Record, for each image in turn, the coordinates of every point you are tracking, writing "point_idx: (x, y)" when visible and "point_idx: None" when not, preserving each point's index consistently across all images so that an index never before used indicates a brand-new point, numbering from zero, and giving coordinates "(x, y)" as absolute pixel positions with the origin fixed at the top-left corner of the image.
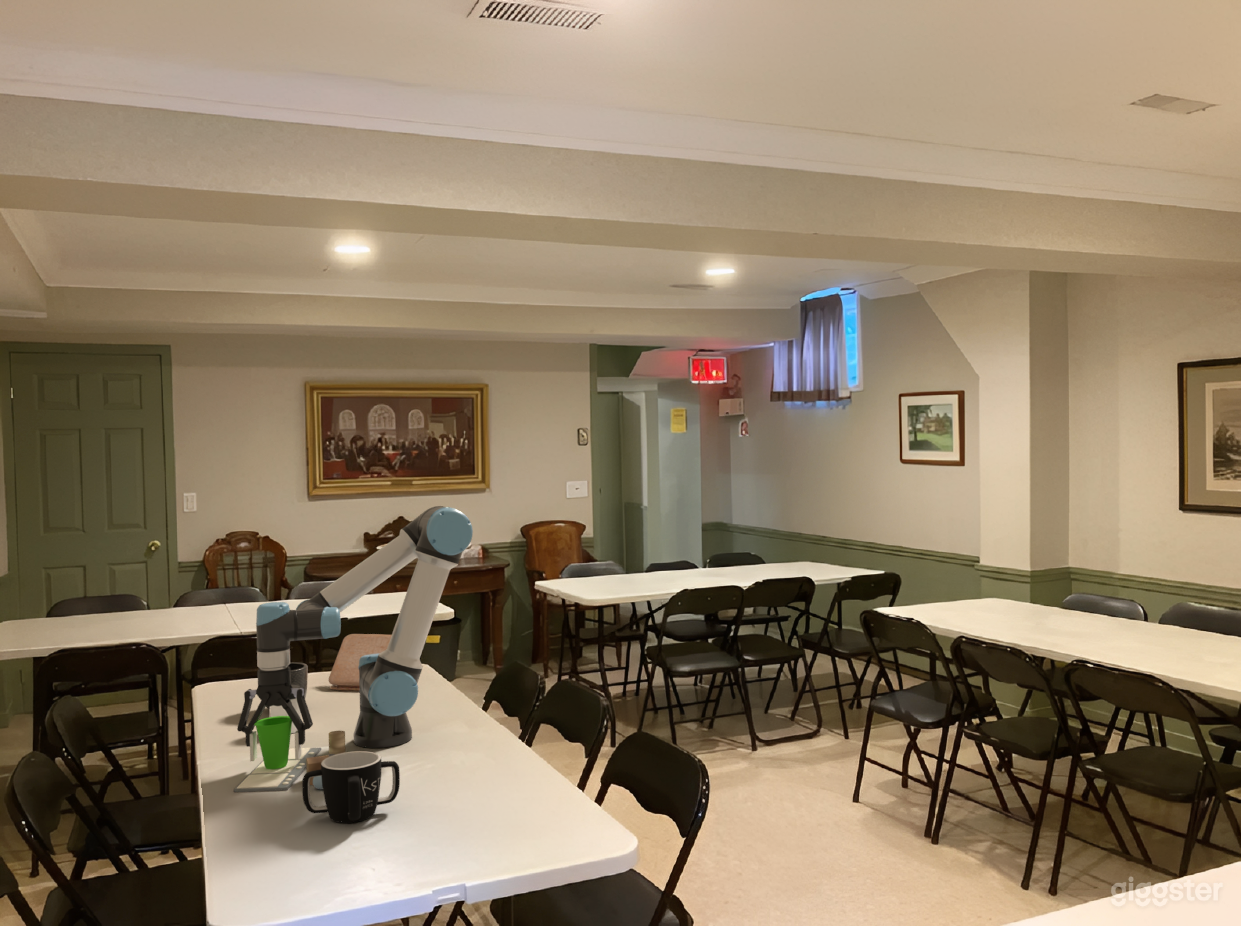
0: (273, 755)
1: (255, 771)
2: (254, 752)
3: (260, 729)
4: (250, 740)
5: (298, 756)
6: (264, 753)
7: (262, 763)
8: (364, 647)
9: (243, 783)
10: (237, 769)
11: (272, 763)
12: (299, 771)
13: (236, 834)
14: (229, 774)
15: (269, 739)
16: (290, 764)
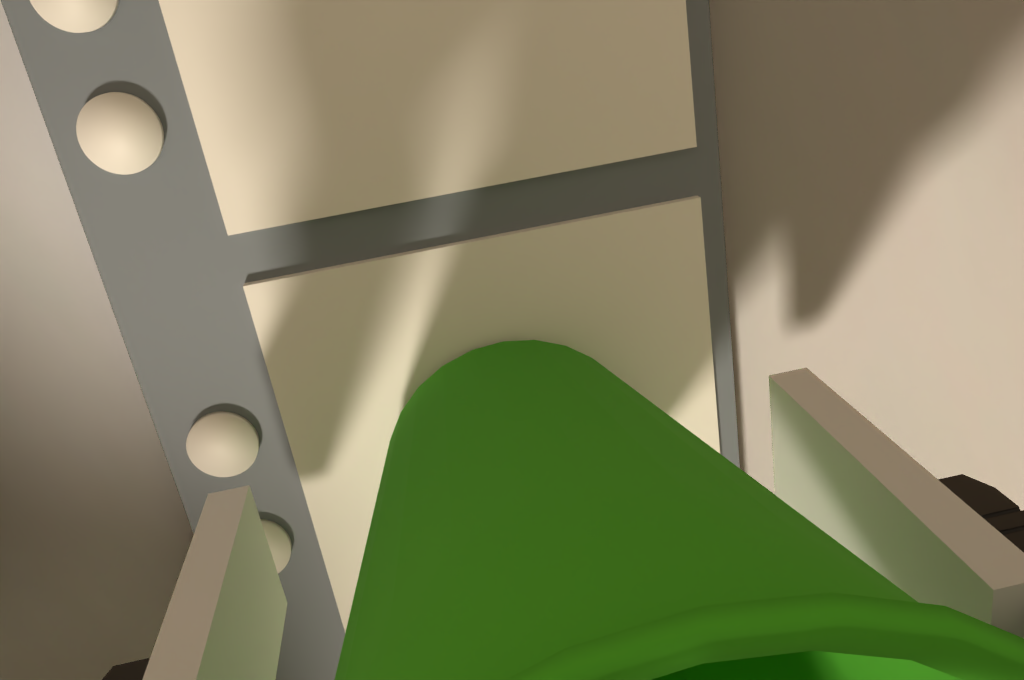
0: (494, 391)
1: (675, 262)
2: (813, 460)
3: (870, 588)
4: (960, 511)
5: (204, 520)
6: (641, 402)
7: None
8: None
9: None
10: (917, 390)
11: (503, 356)
12: (144, 334)
13: None
14: (949, 238)
15: (587, 482)
16: None
